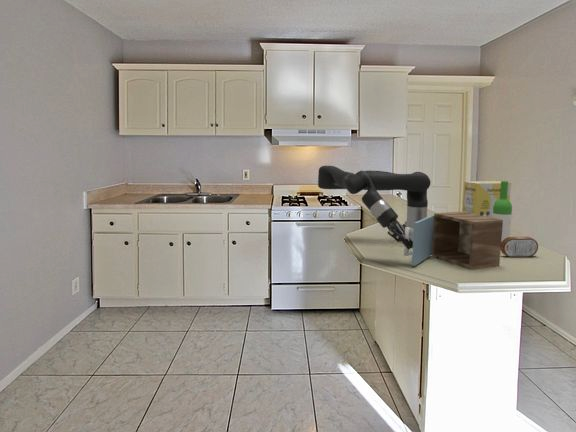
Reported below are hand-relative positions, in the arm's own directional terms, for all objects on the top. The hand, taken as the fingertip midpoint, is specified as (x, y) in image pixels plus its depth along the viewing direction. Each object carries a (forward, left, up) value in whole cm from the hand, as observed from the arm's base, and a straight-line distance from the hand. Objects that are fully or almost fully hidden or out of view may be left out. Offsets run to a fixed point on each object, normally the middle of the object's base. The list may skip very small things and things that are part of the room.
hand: (411, 247), depth 175 cm
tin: (+23, +45, -7) cm, 51 cm away
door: (-2, +7, -6) cm, 10 cm away
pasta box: (-3, +69, -7) cm, 70 cm away
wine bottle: (+10, +57, -7) cm, 58 cm away
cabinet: (+11, +22, -7) cm, 25 cm away
